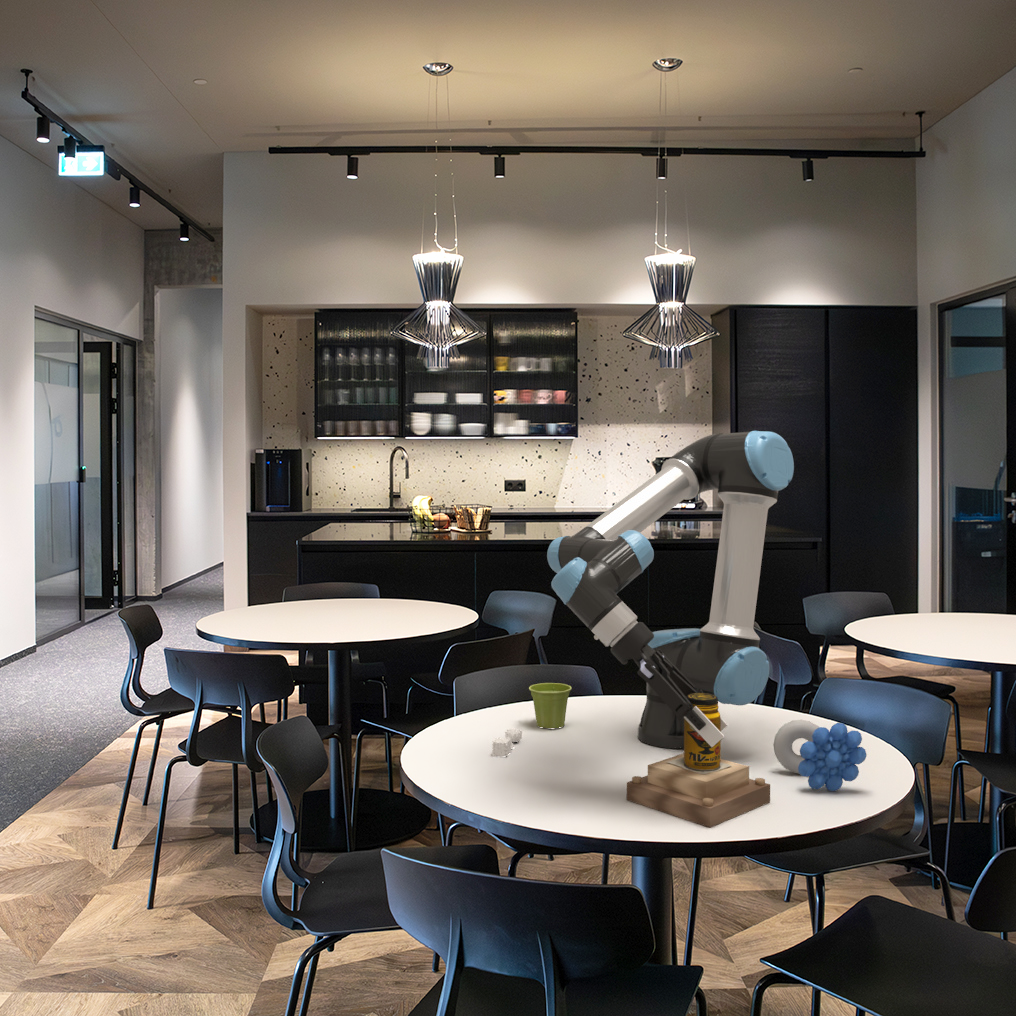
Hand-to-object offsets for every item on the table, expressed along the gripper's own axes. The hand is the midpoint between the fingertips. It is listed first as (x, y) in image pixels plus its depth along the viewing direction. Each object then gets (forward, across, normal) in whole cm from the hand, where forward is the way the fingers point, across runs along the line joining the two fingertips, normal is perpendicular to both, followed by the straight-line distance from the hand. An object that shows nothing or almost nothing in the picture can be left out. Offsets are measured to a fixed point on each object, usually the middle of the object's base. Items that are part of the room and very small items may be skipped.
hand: (719, 735), depth 153 cm
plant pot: (-20, -38, -37) cm, 57 cm away
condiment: (+1, 0, -6) cm, 7 cm away
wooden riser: (+6, 0, -11) cm, 12 cm away
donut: (+17, -20, +1) cm, 27 cm away
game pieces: (-23, -20, -40) cm, 50 cm away
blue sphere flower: (+21, -13, +4) cm, 25 cm away
